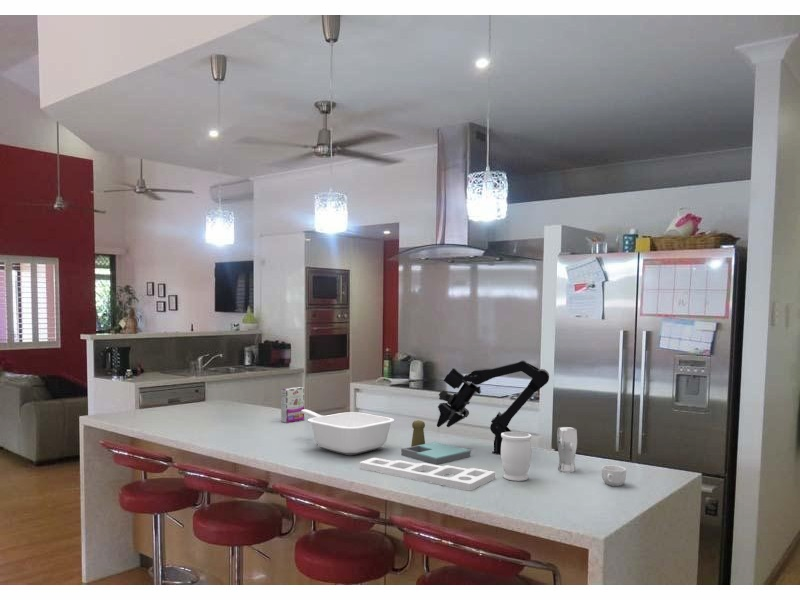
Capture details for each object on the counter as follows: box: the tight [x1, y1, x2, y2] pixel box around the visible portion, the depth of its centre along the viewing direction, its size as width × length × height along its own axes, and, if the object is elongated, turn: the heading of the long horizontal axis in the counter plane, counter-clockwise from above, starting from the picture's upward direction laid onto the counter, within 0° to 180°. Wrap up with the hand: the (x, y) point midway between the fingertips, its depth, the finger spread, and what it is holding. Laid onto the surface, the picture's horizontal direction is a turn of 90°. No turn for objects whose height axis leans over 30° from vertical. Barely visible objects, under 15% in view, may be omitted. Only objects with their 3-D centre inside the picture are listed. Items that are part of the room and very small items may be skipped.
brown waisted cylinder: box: [410, 419, 426, 447], centre depth 260 cm, size 6×6×11 cm
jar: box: [500, 431, 532, 482], centre depth 216 cm, size 11×10×15 cm
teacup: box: [601, 464, 627, 487], centre depth 209 cm, size 10×8×5 cm
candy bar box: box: [280, 386, 305, 424], centre depth 314 cm, size 11×5×16 cm, turn 138°
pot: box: [301, 408, 395, 456], centre depth 260 cm, size 28×44×13 cm, turn 48°
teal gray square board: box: [400, 441, 471, 465], centre depth 246 cm, size 19×19×2 cm
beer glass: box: [556, 426, 578, 473], centre depth 227 cm, size 7×7×15 cm
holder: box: [359, 457, 496, 491], centre depth 221 cm, size 45×18×3 cm, turn 56°
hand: (442, 426), depth 258 cm, fingers open, 9 cm apart
